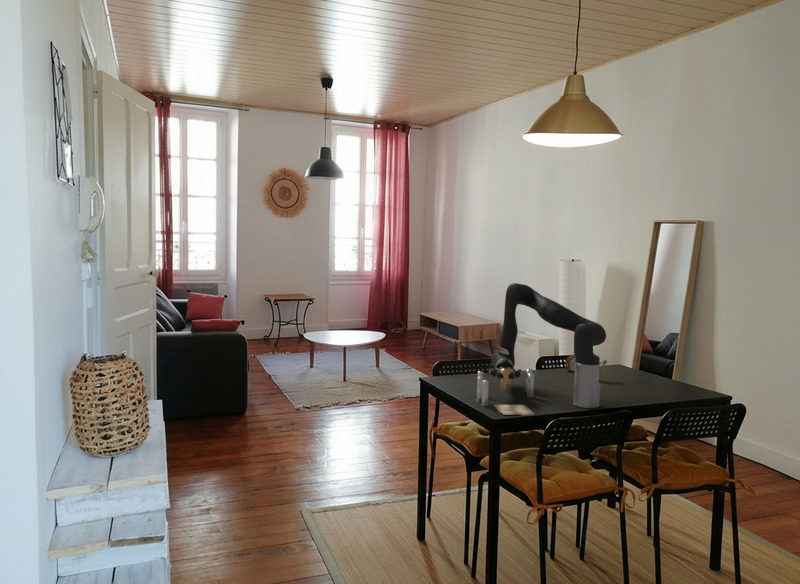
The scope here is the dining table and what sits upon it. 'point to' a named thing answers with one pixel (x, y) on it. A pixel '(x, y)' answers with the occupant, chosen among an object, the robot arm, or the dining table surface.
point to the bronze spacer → (505, 380)
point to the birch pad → (513, 410)
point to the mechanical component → (603, 364)
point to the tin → (570, 363)
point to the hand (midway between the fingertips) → (506, 376)
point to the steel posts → (484, 386)
